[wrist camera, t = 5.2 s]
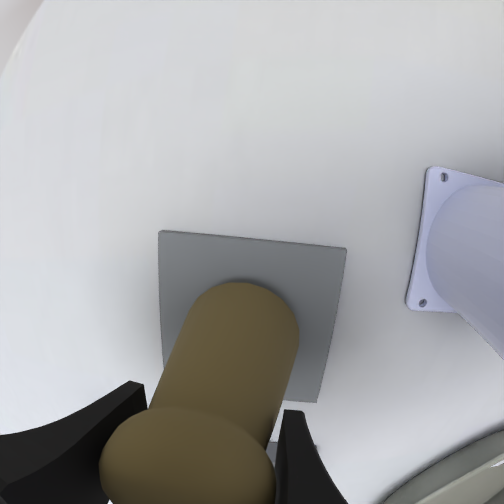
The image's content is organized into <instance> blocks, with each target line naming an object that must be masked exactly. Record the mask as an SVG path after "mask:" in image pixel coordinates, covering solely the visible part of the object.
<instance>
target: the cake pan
mask: <svg viewBox="0 0 504 504" xmlns="http://www.w3.org/2000/svg"><path fill="white" fill-rule="evenodd" d="M502 460H504V430H502V431H499V432H497V433H494V434H492V435H489V436H487V437H485V438H482V439H480V440H478V441H476V442H474V443H472V444H470V445H468V446H466V447H465V448H463V449H461V450H459V451H457V452H455V453H453V454H452V455H450V456H448V457H446V458H445V459H443V460H441V461H440V462H438V463H436V464H435V465H433V466H431V467H430V468H428V469H427V470H425V471H423V472H422V473H420V474H419V475H417V476H416V477H414V478H413V479H411V480H410V481H409V482H407V483H406V484H404V485H403V486H402V487H400V488H399V489H398V490H397V491H395V492H394V493H393V494H392V495H391V496H390V497H389V498H387V500H386V501H385V502H384V503H383V504H504V463H503V464H501V465H499V466H495V467H491V466H493V465H494V464H496V463H498V462H500V461H502Z"/></svg>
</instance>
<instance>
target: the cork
mask: <svg viewBox="0 0 504 504" xmlns="http://www.w3.org/2000/svg"><path fill="white" fill-rule="evenodd" d="M298 347H299V327H298V324H297V321H296V318H295V315H294V313H293V312H292V311H291V310H290V308H289V307H288V306H287V304H286V303H285V302H284V301H283V300H282V299H281V298H280V297H278V296H277V295H275V294H274V293H272V292H271V291H269V290H268V289H266V288H263V287H259V286H256V285H253V284H250V283H230V282H228V283H225V284H222V285H218V286H215V287H212V288H210V289H209V290H207V291H206V292H204V293H203V294H202V295H200V296H199V297H198V298H197V299H196V301H195V302H194V304H193V305H192V307H191V308H190V310H189V312H188V314H187V317H186V319H185V321H184V324H183V326H182V328H181V331H180V333H179V335H178V338H177V340H176V342H175V345H174V347H173V349H172V352H171V354H170V357H169V359H168V361H167V364H166V366H165V369H164V371H163V373H162V376H161V378H160V381H159V383H158V386H157V388H156V390H155V393H154V395H153V398H152V400H151V403H150V405H149V408H148V410H144V411H142V412H140V413H138V414H135V415H133V416H131V417H130V418H128V419H127V420H126V421H124V422H123V423H122V424H120V425H119V426H118V427H117V429H116V430H115V431H114V433H113V434H112V436H111V437H110V438H109V440H108V441H107V443H106V445H105V446H104V448H103V450H102V453H101V457H100V460H99V474H100V481H101V486H102V489H103V491H104V492H105V494H106V495H107V496H108V498H109V499H110V500H111V502H112V503H113V504H275V498H276V475H275V470H274V466H273V463H272V461H271V460H270V458H269V456H268V455H267V453H266V449H267V446H268V443H269V440H270V437H271V435H272V432H273V429H274V426H275V423H276V420H277V417H278V413H279V410H280V407H281V404H282V401H283V398H284V395H285V391H286V388H287V385H288V382H289V378H290V375H291V372H292V368H293V365H294V361H295V358H296V354H297V351H298Z"/></svg>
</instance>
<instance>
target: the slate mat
mask: <svg viewBox="0 0 504 504" xmlns="http://www.w3.org/2000/svg"><path fill="white" fill-rule="evenodd" d="M346 253H347V250H346V248H339V247H330V246H320V245H311V244H301V243H291V242H281V241H271V240H261V239H251V238H241V237H230V236H220V235H209V234H198V233H187V232H176V231H165V230H162V231H159V232H158V264H159V302H160V323H161V339H162V353H163V365H164V369H165V366H166V364H167V361H168V359H169V357H170V354H171V352H172V349H173V347H174V345H175V342H176V340H177V338H178V335H179V333H180V331H181V328H182V326H183V324H184V321H185V319H186V317H187V314H188V312H189V310H190V308H191V307H192V305H193V304H194V302H195V301H196V299H197V298H198V297H199V296H200V295H202V294H203V293H204V292H206V291H207V290H209V289H210V288H212V287H215V286H218V285H222V284H225V283H228V282H230V283H250V284H253V285H256V286H259V287H263V288H266V289H268V290H269V291H271V292H272V293H274V294H275V295H277V296H278V297H280V298H281V299H282V300H283V301H284V302H285V303H286V304H287V306H288V307H289V308H290V310H291V311H292V312H293V313H294V315H295V318H296V321H297V324H298V327H299V347H298V351H297V354H296V358H295V361H294V365H293V368H292V372H291V375H290V378H289V382H288V385H287V388H286V391H285V395H284V398H283V400H288V401H299V402H313V403H316V402H317V399H318V395H319V391H320V387H321V383H322V378H323V374H324V370H325V366H326V361H327V357H328V352H329V348H330V343H331V338H332V333H333V328H334V323H335V318H336V313H337V308H338V302H339V297H340V291H341V285H342V279H343V273H344V266H345V260H346Z"/></svg>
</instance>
